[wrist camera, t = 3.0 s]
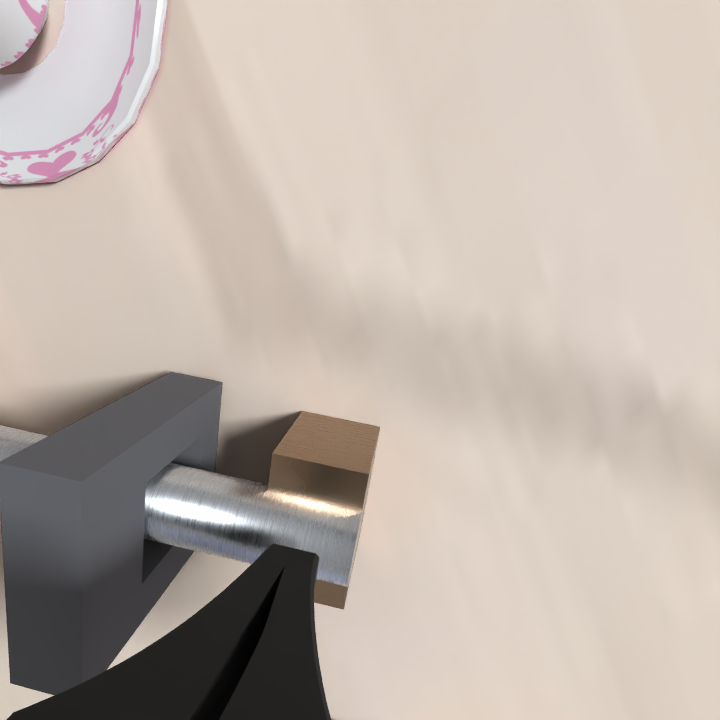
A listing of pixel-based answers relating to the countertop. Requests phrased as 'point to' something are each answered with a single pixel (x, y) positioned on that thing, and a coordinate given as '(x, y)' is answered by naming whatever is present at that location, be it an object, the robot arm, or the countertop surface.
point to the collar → (95, 528)
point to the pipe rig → (267, 500)
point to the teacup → (74, 84)
